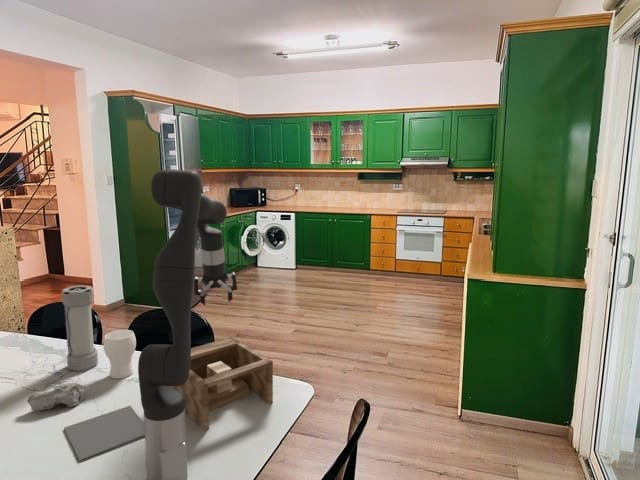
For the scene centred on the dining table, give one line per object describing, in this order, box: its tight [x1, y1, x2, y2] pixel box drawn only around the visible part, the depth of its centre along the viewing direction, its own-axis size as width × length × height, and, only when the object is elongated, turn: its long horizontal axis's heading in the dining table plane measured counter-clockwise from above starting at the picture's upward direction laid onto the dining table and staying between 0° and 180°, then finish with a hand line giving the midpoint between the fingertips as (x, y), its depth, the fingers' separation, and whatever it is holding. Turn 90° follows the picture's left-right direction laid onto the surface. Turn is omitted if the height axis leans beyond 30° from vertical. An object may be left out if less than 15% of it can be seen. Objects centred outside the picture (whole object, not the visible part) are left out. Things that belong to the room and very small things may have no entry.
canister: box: [61, 284, 99, 372], centre depth 158 cm, size 10×10×30 cm
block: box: [207, 361, 232, 394], centre depth 138 cm, size 7×5×7 cm
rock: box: [26, 382, 87, 412], centre depth 132 cm, size 16×7×7 cm, turn 129°
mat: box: [63, 405, 145, 463], centre depth 120 cm, size 18×18×1 cm
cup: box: [103, 329, 137, 380], centre depth 153 cm, size 11×11×15 cm
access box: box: [169, 336, 274, 432], centre depth 138 cm, size 26×24×14 cm
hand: (217, 302), depth 148 cm, fingers open, 8 cm apart
